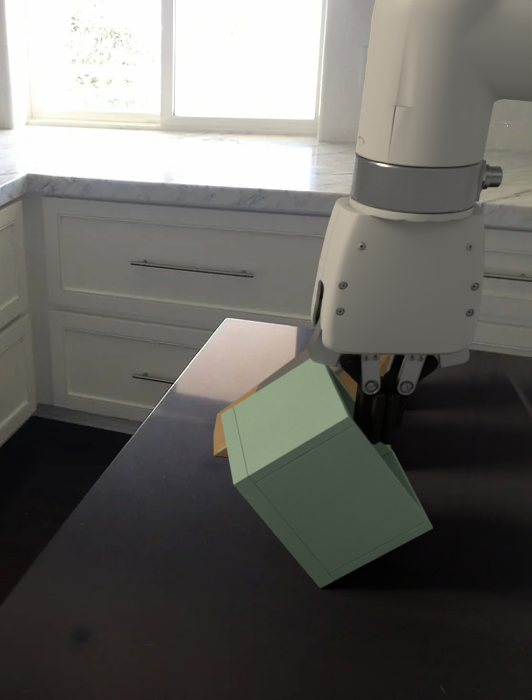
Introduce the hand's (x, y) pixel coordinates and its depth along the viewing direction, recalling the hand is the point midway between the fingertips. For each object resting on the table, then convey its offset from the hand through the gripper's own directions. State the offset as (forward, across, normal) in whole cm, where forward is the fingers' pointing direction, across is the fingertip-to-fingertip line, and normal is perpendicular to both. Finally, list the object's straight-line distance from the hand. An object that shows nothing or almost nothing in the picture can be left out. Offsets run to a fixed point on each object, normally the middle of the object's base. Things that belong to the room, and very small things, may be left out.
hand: (374, 434), depth 63 cm
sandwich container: (+10, +2, -16) cm, 19 cm away
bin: (+7, 0, 0) cm, 7 cm away
